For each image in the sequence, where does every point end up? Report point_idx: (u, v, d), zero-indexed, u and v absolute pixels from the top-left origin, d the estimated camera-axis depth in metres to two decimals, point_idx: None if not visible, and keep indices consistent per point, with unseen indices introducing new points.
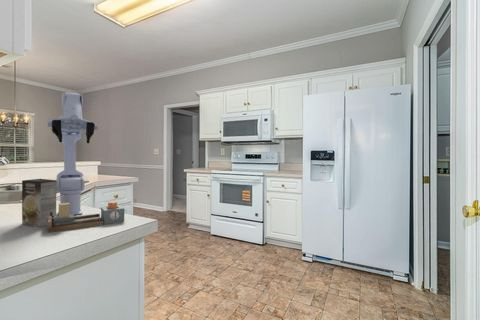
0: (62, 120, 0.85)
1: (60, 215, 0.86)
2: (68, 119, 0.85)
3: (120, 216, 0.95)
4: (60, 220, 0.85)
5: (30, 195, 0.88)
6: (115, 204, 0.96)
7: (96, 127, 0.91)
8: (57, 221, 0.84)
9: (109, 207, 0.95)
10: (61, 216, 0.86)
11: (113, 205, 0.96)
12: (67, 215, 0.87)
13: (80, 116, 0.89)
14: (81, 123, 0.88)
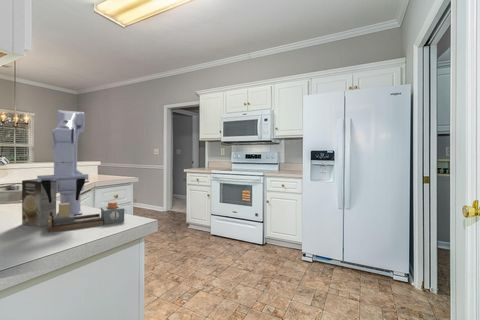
0: (52, 178, 0.84)
1: (60, 215, 0.86)
2: (58, 178, 0.84)
3: (120, 216, 0.95)
4: (60, 220, 0.85)
5: (30, 195, 0.88)
6: (115, 204, 0.96)
7: (87, 179, 0.91)
8: (57, 221, 0.84)
9: (109, 207, 0.95)
10: (61, 216, 0.86)
11: (113, 205, 0.96)
12: (67, 215, 0.87)
13: (71, 170, 0.87)
14: (71, 177, 0.88)
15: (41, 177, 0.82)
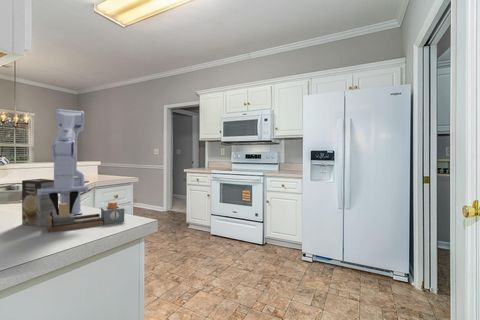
0: None
1: (60, 215, 0.86)
2: (58, 191, 0.85)
3: (120, 216, 0.95)
4: (60, 220, 0.85)
5: (30, 195, 0.88)
6: (115, 204, 0.96)
7: (86, 191, 0.91)
8: (57, 221, 0.84)
9: (109, 207, 0.95)
10: (61, 216, 0.86)
11: (113, 205, 0.96)
12: (67, 215, 0.87)
13: (71, 183, 0.87)
14: (71, 190, 0.88)
15: (41, 190, 0.83)
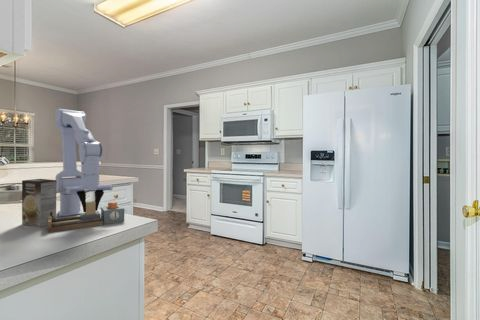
0: (80, 189, 0.89)
1: (87, 212, 0.90)
2: None
3: (120, 216, 0.95)
4: (87, 217, 0.90)
5: (30, 195, 0.88)
6: (115, 204, 0.96)
7: None
8: (85, 218, 0.89)
9: (109, 207, 0.95)
10: (88, 213, 0.91)
11: (113, 205, 0.96)
12: (93, 212, 0.92)
13: (97, 182, 0.92)
14: (97, 188, 0.93)
15: (70, 189, 0.87)
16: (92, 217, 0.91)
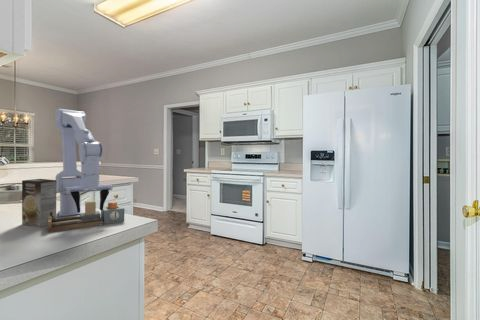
0: (80, 189, 0.89)
1: (87, 212, 0.90)
2: None
3: (120, 216, 0.95)
4: (87, 217, 0.90)
5: (30, 195, 0.88)
6: (115, 204, 0.96)
7: None
8: (85, 218, 0.89)
9: (109, 207, 0.95)
10: (88, 213, 0.91)
11: (113, 205, 0.96)
12: (93, 212, 0.92)
13: (97, 182, 0.92)
14: (97, 188, 0.93)
15: (70, 189, 0.87)
16: (92, 217, 0.91)
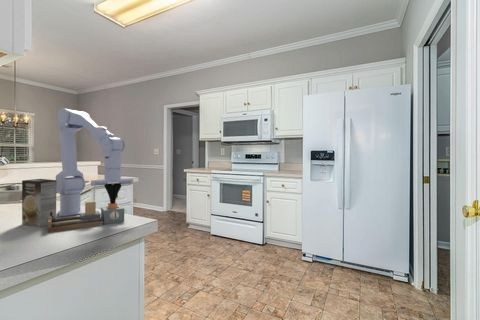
0: (103, 182, 0.93)
1: (87, 212, 0.90)
2: (109, 182, 0.94)
3: (120, 216, 0.95)
4: (87, 217, 0.90)
5: (30, 195, 0.88)
6: (115, 204, 0.96)
7: (131, 183, 1.00)
8: (85, 218, 0.89)
9: (109, 207, 0.95)
10: (88, 213, 0.91)
11: (113, 206, 0.96)
12: (93, 212, 0.92)
13: (119, 175, 0.96)
14: (119, 182, 0.97)
15: (95, 182, 0.92)
16: (92, 217, 0.91)
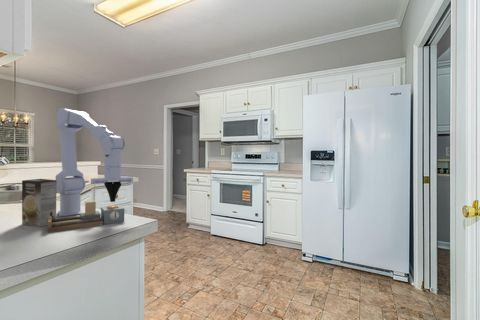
0: (103, 180, 0.93)
1: (87, 212, 0.90)
2: (109, 180, 0.94)
3: (120, 216, 0.95)
4: (87, 217, 0.90)
5: (30, 195, 0.88)
6: (115, 208, 0.96)
7: (131, 181, 1.00)
8: (85, 218, 0.89)
9: None
10: (88, 213, 0.91)
11: None
12: (93, 212, 0.92)
13: (119, 174, 0.96)
14: (119, 180, 0.97)
15: (94, 180, 0.92)
16: (92, 217, 0.91)
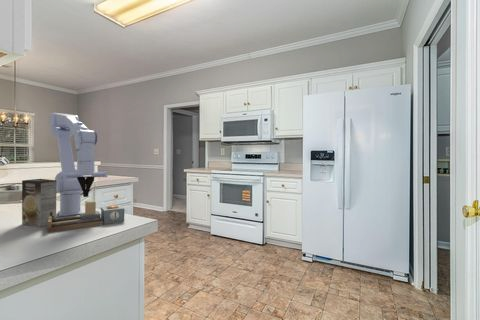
0: None
1: (87, 212, 0.90)
2: None
3: (120, 216, 0.95)
4: (87, 217, 0.90)
5: (30, 195, 0.88)
6: (115, 208, 0.96)
7: (106, 176, 0.99)
8: (85, 218, 0.89)
9: None
10: (88, 213, 0.91)
11: None
12: (93, 212, 0.92)
13: (92, 168, 0.95)
14: (92, 175, 0.96)
15: (66, 174, 0.91)
16: (92, 217, 0.91)
